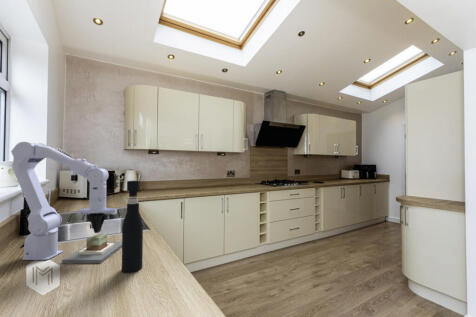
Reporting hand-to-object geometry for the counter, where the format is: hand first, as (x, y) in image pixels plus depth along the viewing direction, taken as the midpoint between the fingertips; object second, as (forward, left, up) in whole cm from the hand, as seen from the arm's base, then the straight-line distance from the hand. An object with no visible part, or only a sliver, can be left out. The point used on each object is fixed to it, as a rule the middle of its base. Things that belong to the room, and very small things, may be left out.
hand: (97, 232), depth 89 cm
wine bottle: (+20, -13, -8) cm, 25 cm away
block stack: (0, 0, -7) cm, 7 cm away
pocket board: (0, 0, -8) cm, 8 cm away
